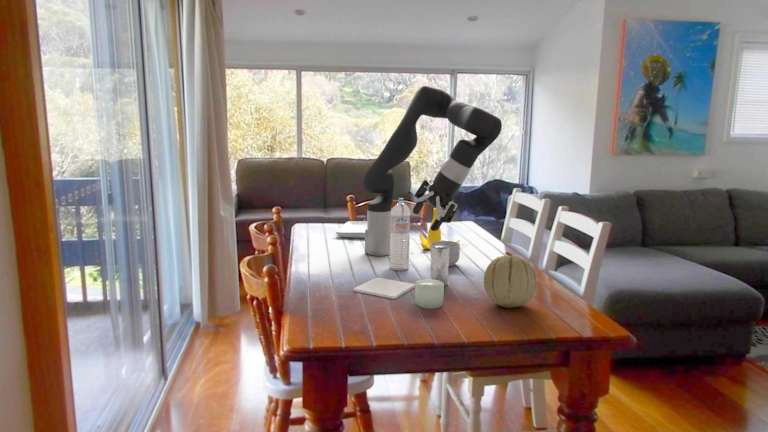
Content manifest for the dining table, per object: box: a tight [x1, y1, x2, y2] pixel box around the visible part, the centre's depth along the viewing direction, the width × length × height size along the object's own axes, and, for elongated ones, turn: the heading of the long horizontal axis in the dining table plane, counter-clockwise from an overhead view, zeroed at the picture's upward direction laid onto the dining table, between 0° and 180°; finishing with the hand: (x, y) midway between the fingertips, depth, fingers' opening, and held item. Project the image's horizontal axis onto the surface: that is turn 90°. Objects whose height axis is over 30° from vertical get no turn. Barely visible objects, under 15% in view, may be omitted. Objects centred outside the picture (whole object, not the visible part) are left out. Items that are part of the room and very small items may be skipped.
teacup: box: [429, 239, 461, 267], centre depth 188 cm, size 14×11×8 cm
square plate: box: [335, 220, 367, 239], centre depth 239 cm, size 27×27×4 cm
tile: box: [353, 276, 416, 300], centre depth 157 cm, size 14×14×1 cm
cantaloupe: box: [483, 251, 538, 309], centre depth 143 cm, size 15×15×15 cm
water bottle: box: [389, 197, 411, 272], centre depth 178 cm, size 7×7×25 cm
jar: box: [414, 278, 445, 309], centre depth 144 cm, size 8×8×6 cm
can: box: [429, 245, 450, 287], centre depth 163 cm, size 6×6×12 cm
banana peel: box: [419, 207, 461, 250], centre depth 213 cm, size 17×19×17 cm
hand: (423, 221), depth 151 cm, fingers open, 8 cm apart
